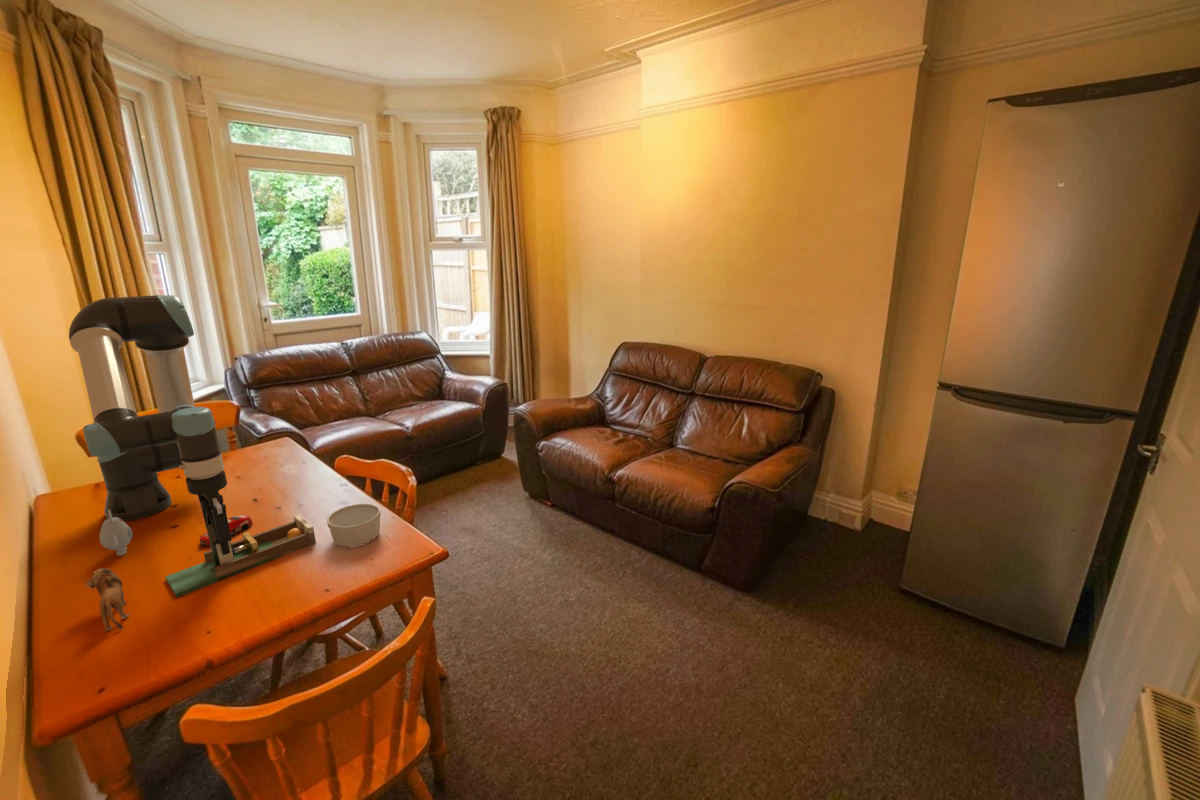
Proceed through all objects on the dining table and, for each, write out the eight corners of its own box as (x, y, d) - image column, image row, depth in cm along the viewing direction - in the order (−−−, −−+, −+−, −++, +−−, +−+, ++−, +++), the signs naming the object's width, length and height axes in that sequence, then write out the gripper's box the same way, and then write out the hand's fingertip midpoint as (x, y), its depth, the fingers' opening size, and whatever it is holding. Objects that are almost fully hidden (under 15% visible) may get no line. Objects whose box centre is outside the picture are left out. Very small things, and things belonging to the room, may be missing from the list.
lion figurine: (92, 607, 117) (81, 571, 114) (123, 595, 121) (113, 560, 118) (106, 637, 108) (95, 599, 105) (140, 623, 112) (129, 586, 109)
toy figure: (137, 557, 135) (125, 515, 132) (104, 566, 131) (91, 523, 128) (136, 540, 143) (125, 500, 139) (105, 548, 139) (93, 507, 135)
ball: (282, 538, 141) (288, 525, 142) (296, 539, 144) (301, 527, 145) (287, 543, 139) (293, 529, 140) (301, 544, 142) (307, 531, 142)
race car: (209, 550, 139) (205, 536, 138) (195, 545, 141) (192, 532, 140) (256, 525, 151) (254, 513, 150) (243, 522, 153) (240, 509, 152)
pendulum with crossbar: (211, 561, 131) (202, 521, 128) (250, 547, 137) (242, 509, 134) (219, 572, 127) (210, 531, 124) (260, 557, 133) (252, 518, 130)
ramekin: (322, 537, 145) (318, 515, 143) (370, 520, 154) (367, 498, 152) (342, 556, 136) (339, 532, 134) (391, 536, 145) (388, 514, 143)
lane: (166, 579, 126) (161, 561, 125) (301, 530, 148) (298, 514, 147) (176, 597, 120) (171, 578, 118) (316, 543, 142) (313, 526, 140)
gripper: (176, 468, 126) (196, 553, 133) (195, 489, 116) (217, 581, 122) (213, 459, 132) (231, 541, 138) (235, 478, 121) (253, 567, 128)
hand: (224, 560), depth 130 cm, fingers closed on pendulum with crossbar, 4 cm apart
